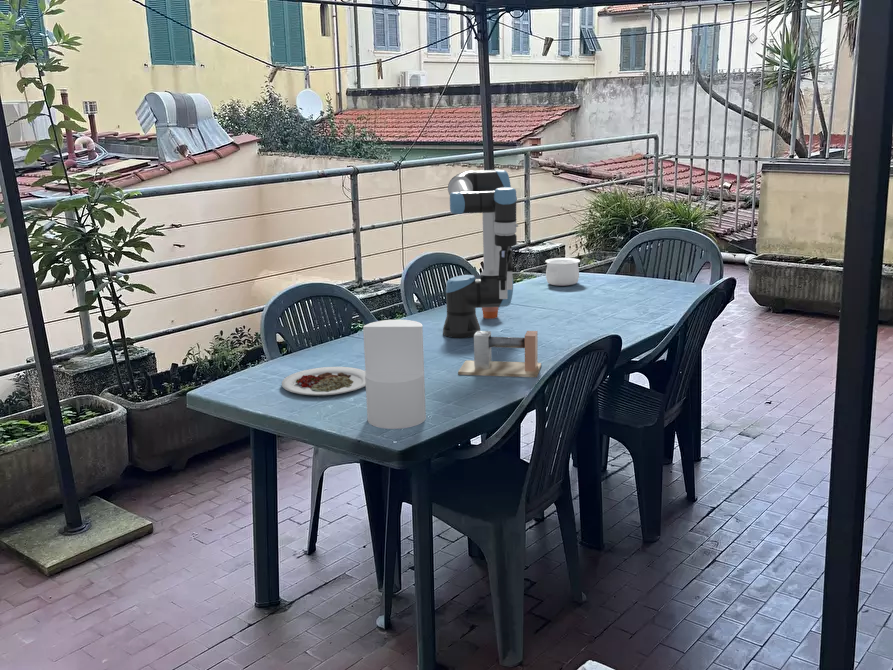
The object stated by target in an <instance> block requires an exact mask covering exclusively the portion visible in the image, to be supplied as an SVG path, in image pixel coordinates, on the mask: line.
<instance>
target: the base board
mask: <svg viewBox="0 0 893 670" xmlns="http://www.w3.org/2000/svg"><path fill="white" fill-rule="evenodd" d="M541 368H542V362H538V366H537V369H536V371H525V361H523V362H522V361H497V360H496V361H493V360H492V365H491V366H490V368H489V369H475V368H474V360H470V359H469V360H467V359H466V360H465V361H464V362H463V364H462V365H461V367H460V368H459V369H458V372H457V375H460V376H461V375H463V376H487V377H489V376H490V377H493V376H494V377H513V378H515V377H516V378H538V375H539V373H540V370H541Z"/></svg>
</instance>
